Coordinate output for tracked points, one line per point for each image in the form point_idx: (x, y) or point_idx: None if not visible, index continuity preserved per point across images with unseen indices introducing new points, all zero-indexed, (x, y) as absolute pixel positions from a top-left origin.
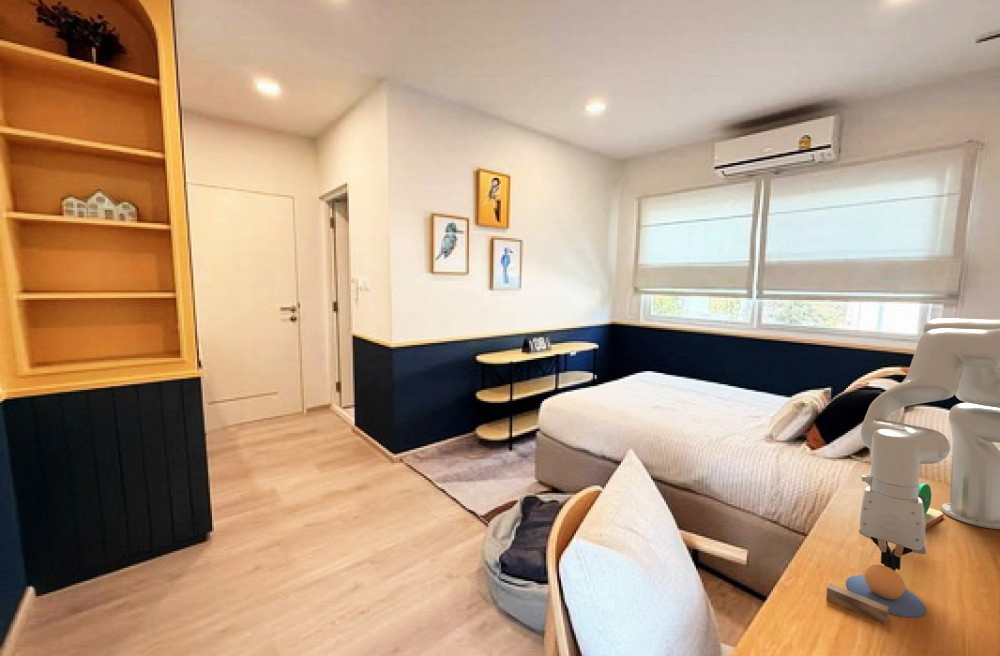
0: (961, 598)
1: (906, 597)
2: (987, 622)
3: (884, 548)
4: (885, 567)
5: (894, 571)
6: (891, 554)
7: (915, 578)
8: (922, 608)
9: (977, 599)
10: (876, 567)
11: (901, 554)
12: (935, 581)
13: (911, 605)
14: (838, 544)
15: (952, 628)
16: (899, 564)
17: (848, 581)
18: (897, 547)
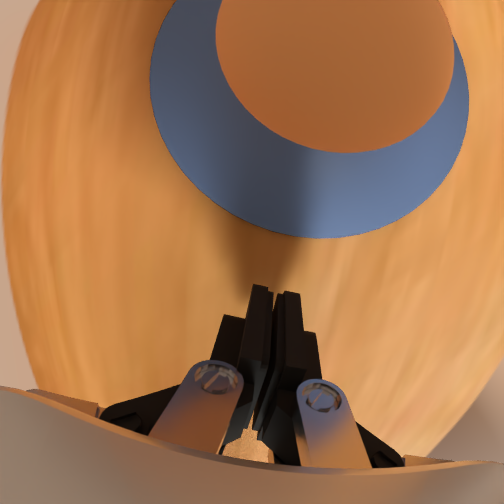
0: (53, 272)
1: (217, 109)
2: (7, 152)
3: (309, 409)
4: (359, 2)
5: (276, 10)
6: (259, 380)
7: (173, 338)
8: (163, 56)
9: (30, 293)
10: (423, 3)
11: (187, 378)
12: (119, 349)
13: (205, 45)
14: (406, 422)
15: (94, 7)
16: (218, 332)
17: (461, 112)
18: (206, 431)
